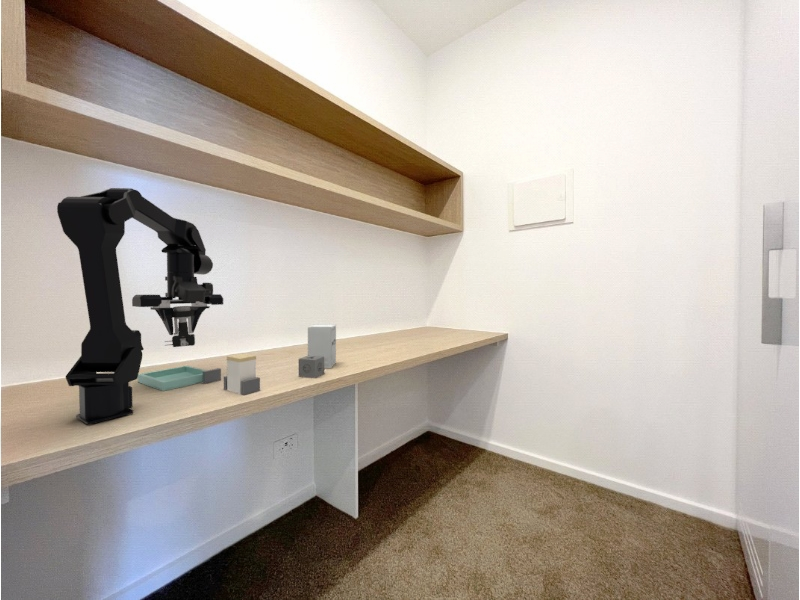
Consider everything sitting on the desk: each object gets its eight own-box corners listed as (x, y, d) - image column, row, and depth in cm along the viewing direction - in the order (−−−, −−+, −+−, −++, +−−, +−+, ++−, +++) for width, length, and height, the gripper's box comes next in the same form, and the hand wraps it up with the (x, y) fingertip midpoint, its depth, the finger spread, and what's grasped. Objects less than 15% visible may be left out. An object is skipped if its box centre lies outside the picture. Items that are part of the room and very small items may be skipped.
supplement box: (331, 368, 98) (331, 326, 98) (306, 368, 98) (306, 326, 98) (336, 363, 105) (336, 324, 105) (313, 363, 105) (313, 324, 105)
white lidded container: (239, 394, 74) (239, 358, 74) (226, 390, 76) (226, 356, 76) (256, 389, 77) (256, 355, 77) (243, 386, 80) (243, 353, 80)
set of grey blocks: (243, 395, 73) (243, 381, 73) (202, 383, 82) (202, 371, 82) (259, 390, 76) (259, 377, 76) (218, 379, 86) (218, 368, 85)
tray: (163, 391, 76) (162, 382, 76) (137, 382, 83) (137, 374, 83) (213, 379, 86) (213, 372, 85) (187, 372, 93) (187, 365, 93)
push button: (163, 349, 80) (160, 308, 79) (166, 345, 84) (163, 306, 84) (195, 346, 83) (193, 306, 82) (196, 342, 87) (194, 305, 87)
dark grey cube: (298, 377, 89) (298, 358, 89) (308, 372, 94) (308, 355, 94) (315, 378, 87) (315, 359, 87) (324, 374, 92) (324, 356, 92)
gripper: (150, 269, 71) (151, 341, 71) (234, 273, 86) (234, 332, 87) (130, 271, 77) (131, 337, 78) (212, 274, 93) (213, 329, 93)
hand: (181, 334), depth 84 cm, fingers closed on push button, 4 cm apart
